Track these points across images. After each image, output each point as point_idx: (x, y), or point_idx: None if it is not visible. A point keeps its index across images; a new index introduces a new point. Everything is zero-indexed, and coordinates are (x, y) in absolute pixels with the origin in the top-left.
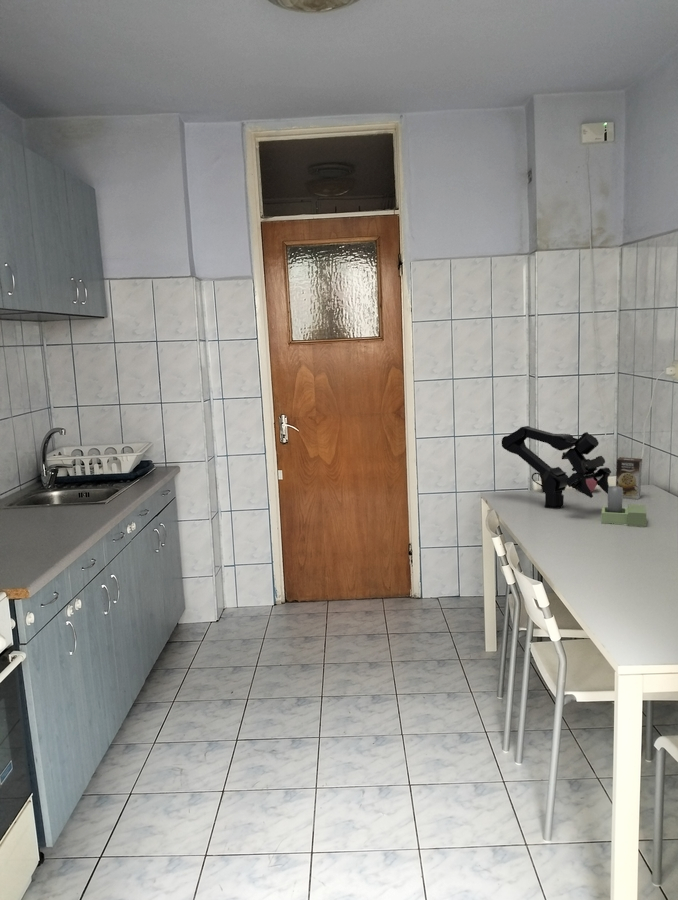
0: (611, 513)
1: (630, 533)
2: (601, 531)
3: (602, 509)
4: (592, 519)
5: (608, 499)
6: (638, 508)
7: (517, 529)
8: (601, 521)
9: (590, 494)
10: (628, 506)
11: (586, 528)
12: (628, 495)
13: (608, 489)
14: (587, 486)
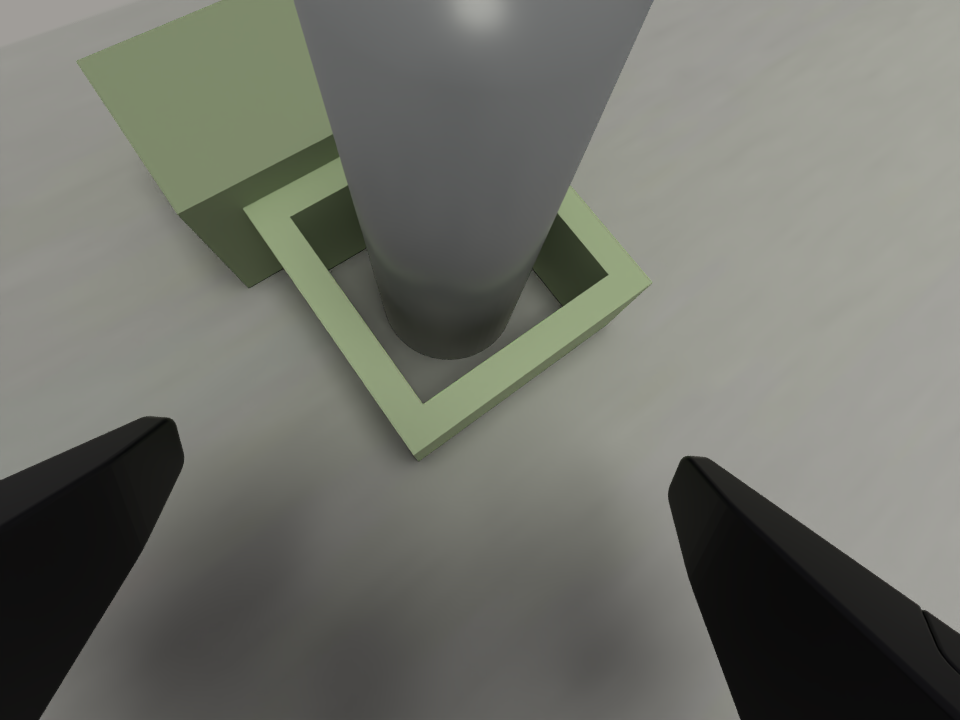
0: (585, 204)
1: (646, 44)
2: (777, 193)
3: (531, 361)
4: (564, 465)
5: (558, 207)
6: (292, 41)
7: None
8: (612, 318)
9: (746, 495)
10: (283, 154)
11: (818, 313)
12: None
13: (618, 67)
14: (928, 675)
